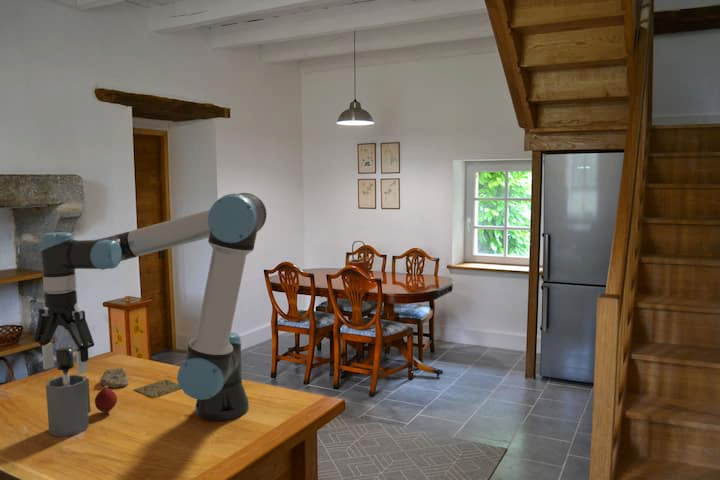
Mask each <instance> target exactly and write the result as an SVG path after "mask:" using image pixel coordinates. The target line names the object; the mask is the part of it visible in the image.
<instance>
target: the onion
mask: <svg viewBox="0 0 720 480" xmlns="http://www.w3.org/2000/svg"><path fill="white" fill-rule="evenodd" d="M117 401H118V397H117V394H116V393H115V392H114V391H113V390H112V389H109V386H104V385H103V388H102V389H101V390H100V391H99V392H98V393H97V394H96V395H95V398H94V405H95V407H96V409H97V410H98V411H100V412H102V413H105V414H108V413H109V412H111V410H113V409H114V408H115V406H116V405H117Z"/></svg>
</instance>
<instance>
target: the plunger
mask: <svg viewBox="0 0 720 480" xmlns="http://www.w3.org/2000/svg"><path fill="white" fill-rule="evenodd" d="M73 351H74V349H73V347H71V346H70V347H69V346H68V347H67V346H66V347H60V348H56V349H55V357H56V358H55V361H56V369H57V370H58V371H61V373H62V376H63V386H70V378H69V375H70V370H71V369H73V368H74V366H75V365H74V352H73Z"/></svg>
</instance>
